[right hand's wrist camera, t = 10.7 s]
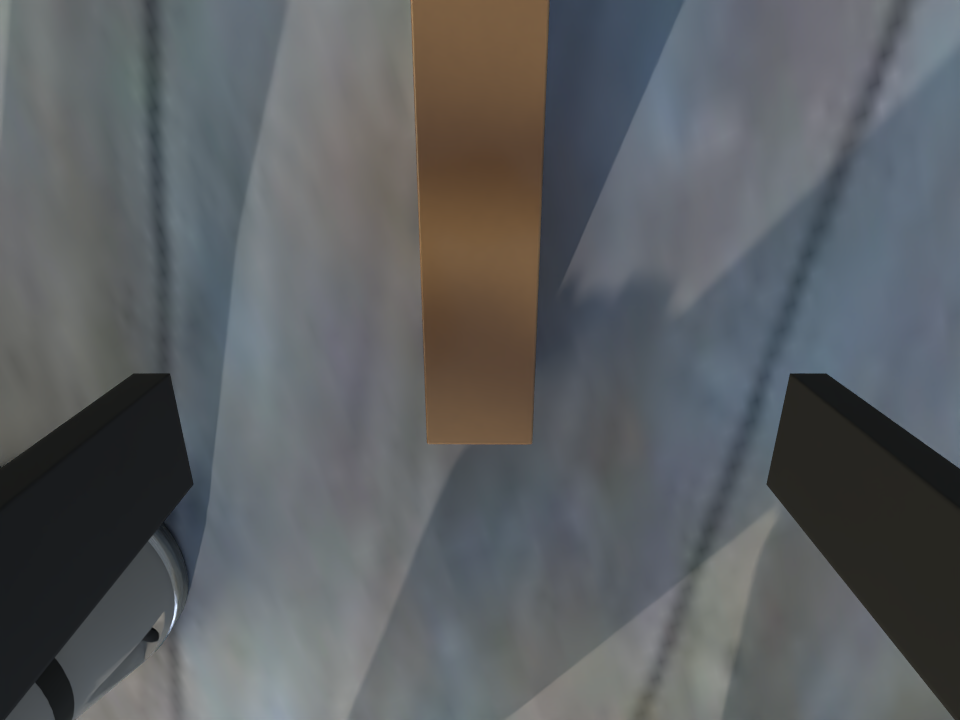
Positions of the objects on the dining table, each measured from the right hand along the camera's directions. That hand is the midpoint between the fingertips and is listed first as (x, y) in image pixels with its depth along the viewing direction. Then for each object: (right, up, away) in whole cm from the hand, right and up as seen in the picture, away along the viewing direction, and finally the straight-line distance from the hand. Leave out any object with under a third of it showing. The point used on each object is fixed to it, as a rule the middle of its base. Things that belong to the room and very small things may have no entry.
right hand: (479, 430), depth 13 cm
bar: (0, +36, +6) cm, 36 cm away
